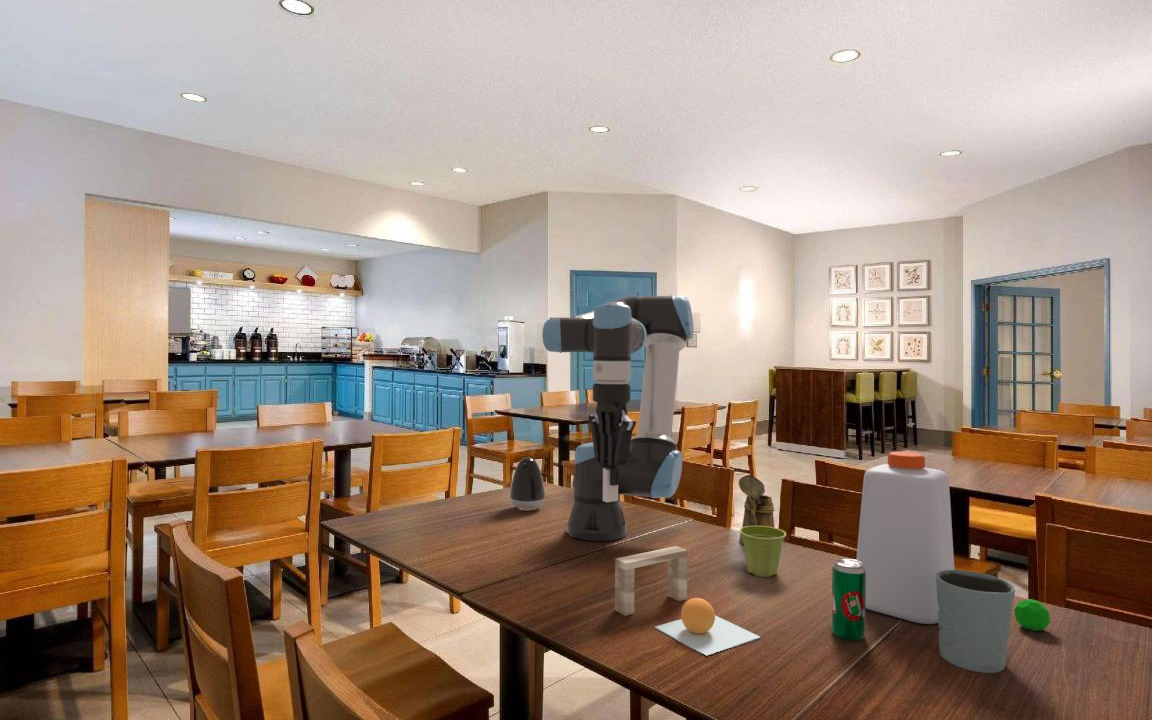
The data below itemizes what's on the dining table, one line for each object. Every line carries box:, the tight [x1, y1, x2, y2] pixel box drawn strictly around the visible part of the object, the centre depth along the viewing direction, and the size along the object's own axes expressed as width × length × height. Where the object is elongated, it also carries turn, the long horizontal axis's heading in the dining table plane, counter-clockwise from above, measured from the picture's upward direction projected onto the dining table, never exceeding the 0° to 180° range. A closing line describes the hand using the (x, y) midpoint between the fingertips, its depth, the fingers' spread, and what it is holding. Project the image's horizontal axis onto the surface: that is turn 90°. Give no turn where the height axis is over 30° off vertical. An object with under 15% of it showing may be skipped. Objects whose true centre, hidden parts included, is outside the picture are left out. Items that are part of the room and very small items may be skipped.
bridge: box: [614, 545, 688, 617], centre depth 117 cm, size 3×14×9 cm, turn 123°
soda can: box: [830, 558, 866, 642], centre depth 105 cm, size 5×5×12 cm
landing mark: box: [654, 615, 761, 657], centre depth 105 cm, size 12×12×1 cm
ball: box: [680, 597, 716, 634], centre depth 105 cm, size 6×6×6 cm
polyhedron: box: [1013, 598, 1051, 632], centre depth 108 cm, size 5×5×5 cm
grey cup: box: [936, 569, 1016, 674], centre depth 97 cm, size 10×10×12 cm
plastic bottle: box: [855, 451, 955, 625], centre depth 117 cm, size 15×15×28 cm
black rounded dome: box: [509, 457, 546, 509], centre depth 187 cm, size 10×10×15 cm
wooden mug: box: [738, 474, 776, 545], centre depth 154 cm, size 9×14×18 cm, turn 148°
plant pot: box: [739, 526, 787, 578], centre depth 135 cm, size 9×9×9 cm
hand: (610, 500), depth 128 cm, fingers closed
